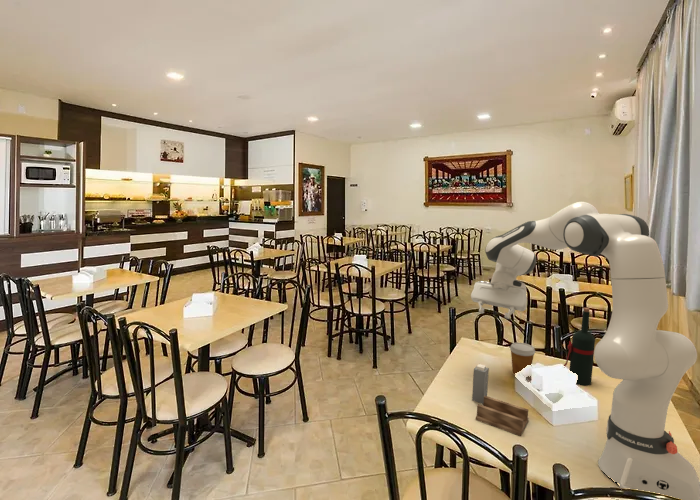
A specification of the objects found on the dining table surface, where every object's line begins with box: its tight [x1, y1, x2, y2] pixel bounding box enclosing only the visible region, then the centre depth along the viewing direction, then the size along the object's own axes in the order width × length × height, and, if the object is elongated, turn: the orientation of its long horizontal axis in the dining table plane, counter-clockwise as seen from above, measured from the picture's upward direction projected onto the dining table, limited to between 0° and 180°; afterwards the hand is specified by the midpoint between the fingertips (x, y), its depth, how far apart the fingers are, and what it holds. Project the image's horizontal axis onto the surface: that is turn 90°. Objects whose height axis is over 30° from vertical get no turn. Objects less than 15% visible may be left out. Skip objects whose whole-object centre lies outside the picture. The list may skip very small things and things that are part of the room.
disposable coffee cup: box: [509, 342, 536, 375], centre depth 153 cm, size 10×10×12 cm
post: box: [471, 363, 490, 405], centre depth 133 cm, size 4×4×13 cm
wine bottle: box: [563, 307, 596, 387], centre depth 146 cm, size 8×10×30 cm
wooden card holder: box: [474, 395, 529, 437], centre depth 122 cm, size 14×10×4 cm
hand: (493, 315), depth 140 cm, fingers open, 8 cm apart
